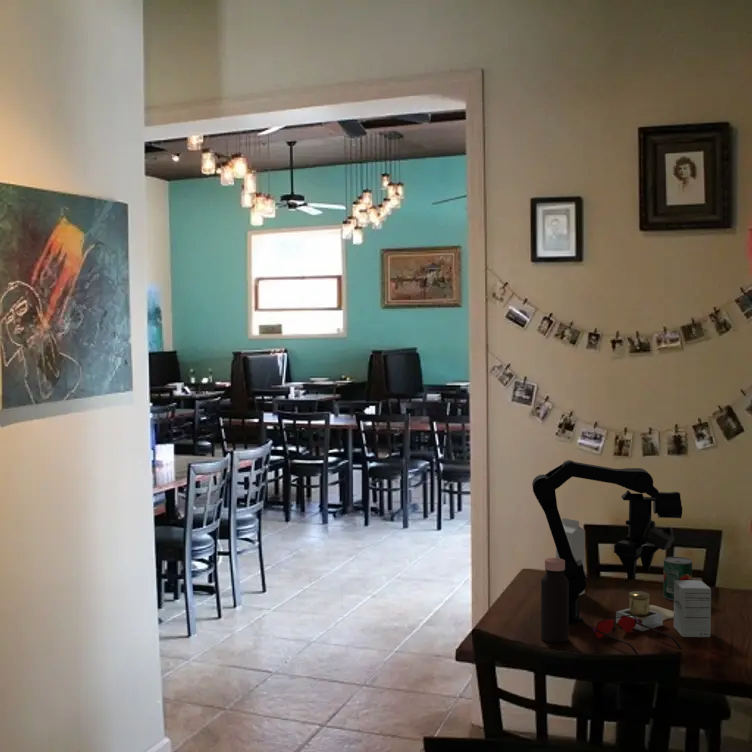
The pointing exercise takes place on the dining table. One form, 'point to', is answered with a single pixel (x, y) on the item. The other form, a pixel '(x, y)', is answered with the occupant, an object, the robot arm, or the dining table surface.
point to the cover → (639, 604)
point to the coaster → (662, 612)
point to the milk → (575, 540)
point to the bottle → (554, 602)
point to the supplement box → (692, 608)
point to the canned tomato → (675, 573)
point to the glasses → (624, 623)
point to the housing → (643, 619)
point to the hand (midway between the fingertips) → (639, 575)
